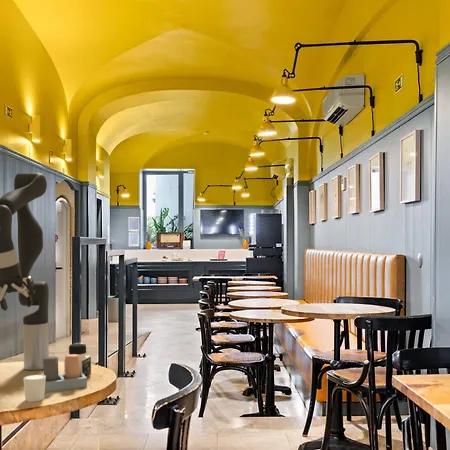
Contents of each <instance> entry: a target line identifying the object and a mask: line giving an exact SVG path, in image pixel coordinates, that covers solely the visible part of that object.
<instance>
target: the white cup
mask: <svg viewBox="0 0 450 450" xmlns="http://www.w3.org/2000/svg"><path fill="white" fill-rule="evenodd" d="M22 379H23V388H24V397H25V401H26V402H31V403H33V402H40V401H43V400H44V399H45V393H46V392H45V382H46V376H45V375H44V374H30V375H26V376H24V377H23V378H22Z"/></svg>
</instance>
